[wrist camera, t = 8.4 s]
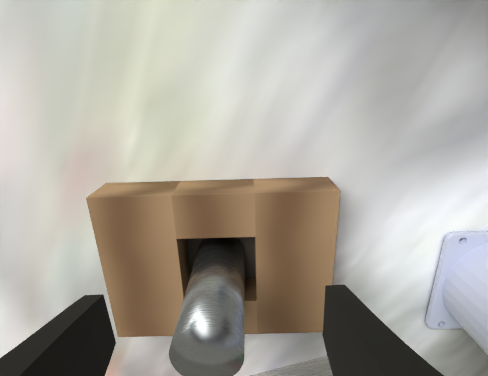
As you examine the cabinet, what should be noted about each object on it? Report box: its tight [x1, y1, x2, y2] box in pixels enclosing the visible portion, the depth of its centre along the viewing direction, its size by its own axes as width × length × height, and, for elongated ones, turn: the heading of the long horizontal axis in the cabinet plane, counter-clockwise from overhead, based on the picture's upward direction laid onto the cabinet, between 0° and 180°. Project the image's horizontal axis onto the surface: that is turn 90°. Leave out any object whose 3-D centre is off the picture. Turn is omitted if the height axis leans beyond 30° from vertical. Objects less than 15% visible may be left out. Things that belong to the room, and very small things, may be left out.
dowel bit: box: [169, 237, 245, 376], centre depth 16 cm, size 3×3×8 cm
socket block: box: [86, 177, 340, 337], centre depth 19 cm, size 14×10×2 cm
